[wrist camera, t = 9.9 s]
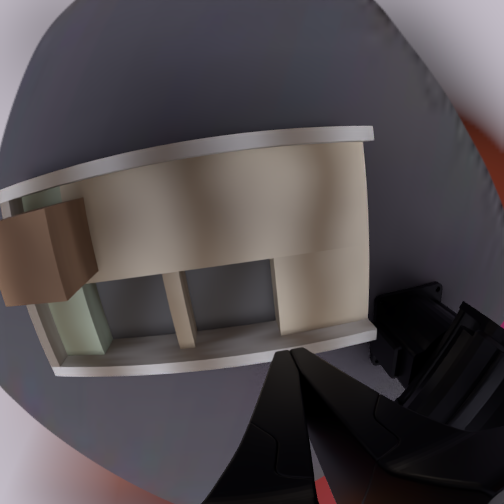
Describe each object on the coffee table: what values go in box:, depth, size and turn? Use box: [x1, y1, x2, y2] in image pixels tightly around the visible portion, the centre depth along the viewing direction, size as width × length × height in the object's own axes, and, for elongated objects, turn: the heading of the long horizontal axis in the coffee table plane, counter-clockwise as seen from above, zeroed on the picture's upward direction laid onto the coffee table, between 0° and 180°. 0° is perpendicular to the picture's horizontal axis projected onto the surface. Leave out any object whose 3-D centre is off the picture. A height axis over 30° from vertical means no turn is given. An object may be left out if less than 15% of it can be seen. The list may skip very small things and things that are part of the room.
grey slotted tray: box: [0, 126, 377, 377], centre depth 18 cm, size 22×13×4 cm, turn 96°
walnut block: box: [0, 197, 99, 307], centre depth 14 cm, size 4×4×4 cm
